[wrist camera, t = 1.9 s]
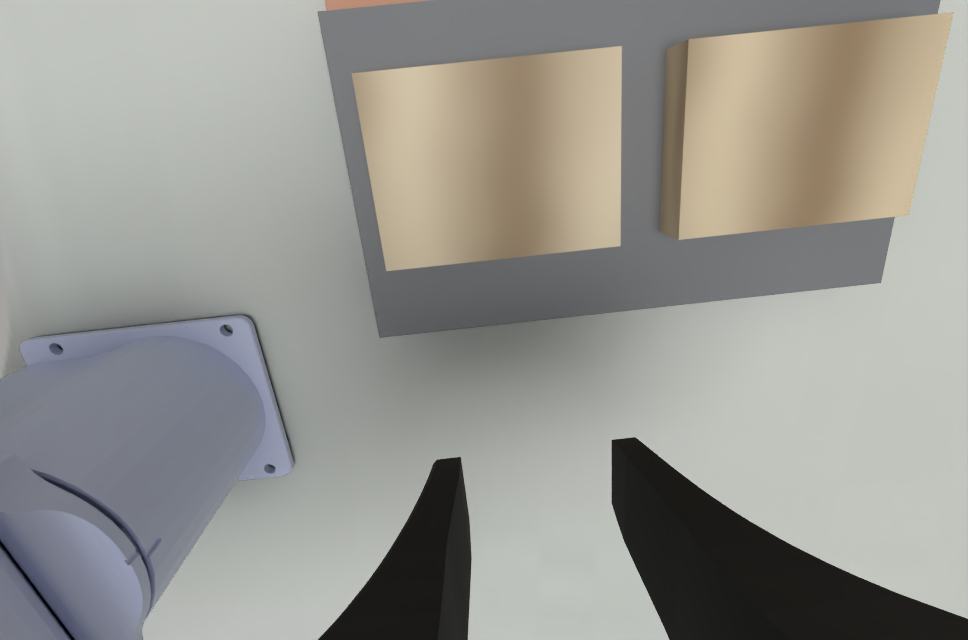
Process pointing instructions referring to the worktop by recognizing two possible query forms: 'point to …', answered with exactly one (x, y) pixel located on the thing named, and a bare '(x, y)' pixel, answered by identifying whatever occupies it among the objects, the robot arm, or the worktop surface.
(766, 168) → the outer tile
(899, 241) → the worktop surface
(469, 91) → the inner tile
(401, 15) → the grey board
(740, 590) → the robot arm
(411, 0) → the mat
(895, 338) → the worktop surface
